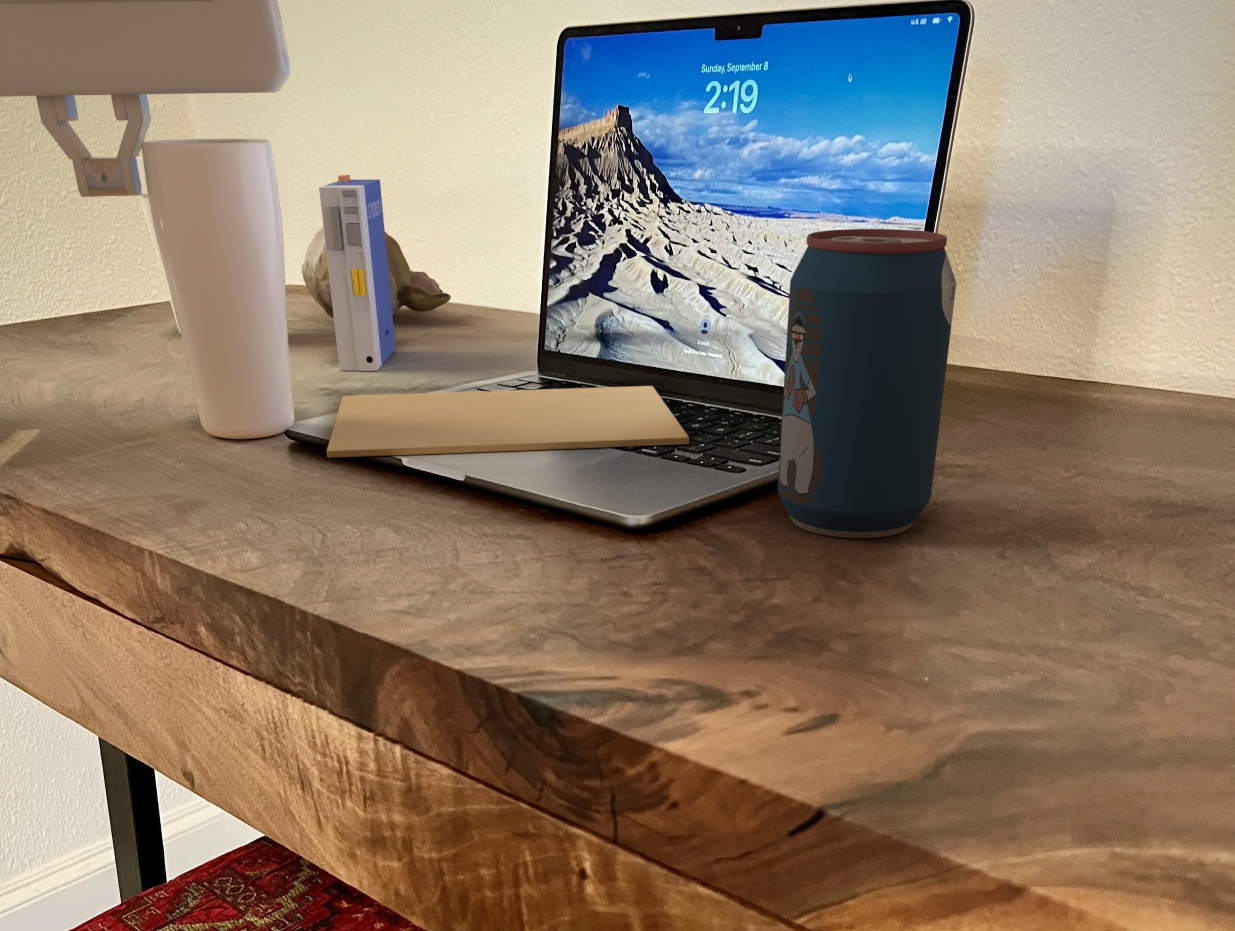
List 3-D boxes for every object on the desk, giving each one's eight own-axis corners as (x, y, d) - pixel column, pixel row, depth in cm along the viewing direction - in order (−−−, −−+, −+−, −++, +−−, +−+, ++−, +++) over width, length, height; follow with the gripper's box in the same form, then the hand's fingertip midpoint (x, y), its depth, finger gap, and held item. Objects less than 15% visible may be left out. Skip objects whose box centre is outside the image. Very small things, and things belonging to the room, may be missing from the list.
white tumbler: (166, 440, 72) (111, 143, 65) (230, 414, 78) (187, 138, 70) (270, 448, 71) (227, 143, 63) (328, 421, 76) (295, 138, 69)
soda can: (950, 513, 59) (987, 232, 53) (890, 552, 54) (922, 248, 48) (817, 490, 63) (837, 223, 57) (749, 526, 58) (762, 238, 52)
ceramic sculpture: (382, 195, 112) (453, 220, 101) (390, 299, 117) (459, 332, 106) (265, 203, 107) (327, 229, 97) (278, 310, 112) (339, 346, 102)
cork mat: (327, 457, 69) (326, 450, 69) (343, 402, 81) (342, 395, 80) (689, 444, 71) (689, 437, 71) (652, 391, 83) (652, 385, 83)
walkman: (359, 350, 96) (341, 173, 90) (396, 350, 96) (379, 173, 90) (337, 371, 89) (315, 181, 83) (376, 371, 89) (357, 181, 83)
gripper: (278, -119, 64) (314, 186, 71) (-147, -119, 62) (-66, 195, 69) (263, -137, 59) (304, 195, 66) (-202, -138, 57) (-108, 205, 64)
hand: (111, 195), depth 67 cm, fingers closed
